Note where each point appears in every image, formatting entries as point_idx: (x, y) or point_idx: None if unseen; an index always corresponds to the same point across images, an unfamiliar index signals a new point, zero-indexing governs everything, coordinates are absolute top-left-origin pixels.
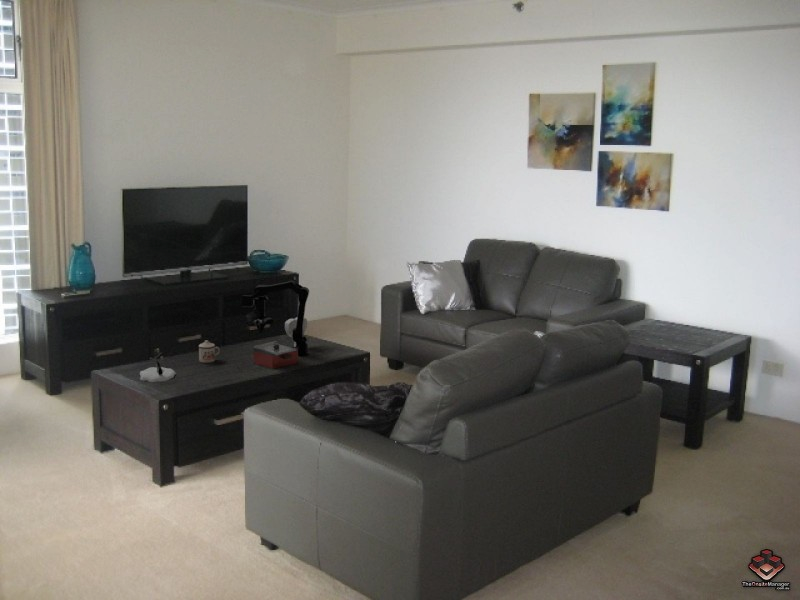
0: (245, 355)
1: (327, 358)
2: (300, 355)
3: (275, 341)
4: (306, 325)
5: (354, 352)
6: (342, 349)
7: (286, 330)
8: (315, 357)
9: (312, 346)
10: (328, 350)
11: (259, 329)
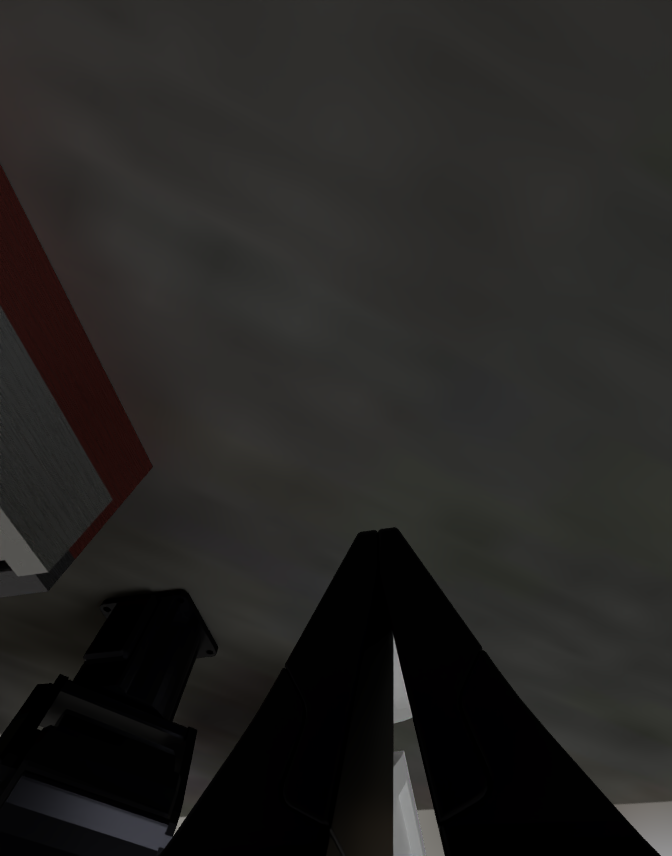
0: (394, 133)
1: (9, 683)
2: (106, 603)
3: (24, 562)
4: None
5: None
6: (191, 793)
7: None
8: (52, 649)
9: None
10: (201, 752)
11: (338, 628)
